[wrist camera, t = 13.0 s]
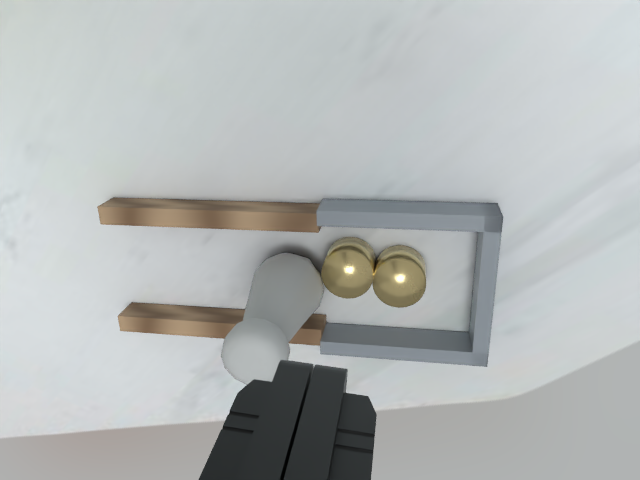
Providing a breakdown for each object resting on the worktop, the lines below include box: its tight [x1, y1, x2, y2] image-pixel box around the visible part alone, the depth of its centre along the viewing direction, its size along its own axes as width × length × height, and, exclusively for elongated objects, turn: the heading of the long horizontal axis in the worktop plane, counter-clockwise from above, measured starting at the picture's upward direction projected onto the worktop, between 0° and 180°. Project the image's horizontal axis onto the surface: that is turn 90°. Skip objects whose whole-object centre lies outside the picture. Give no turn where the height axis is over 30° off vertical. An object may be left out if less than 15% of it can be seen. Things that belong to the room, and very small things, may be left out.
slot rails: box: [98, 198, 326, 345], centre depth 45 cm, size 18×12×2 cm, turn 91°
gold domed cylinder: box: [373, 245, 426, 307], centre depth 42 cm, size 4×4×3 cm
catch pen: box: [317, 199, 503, 367], centre depth 42 cm, size 13×12×3 cm
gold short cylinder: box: [321, 237, 376, 298], centre depth 43 cm, size 4×4×3 cm
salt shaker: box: [221, 253, 324, 385], centre depth 39 cm, size 6×6×13 cm
